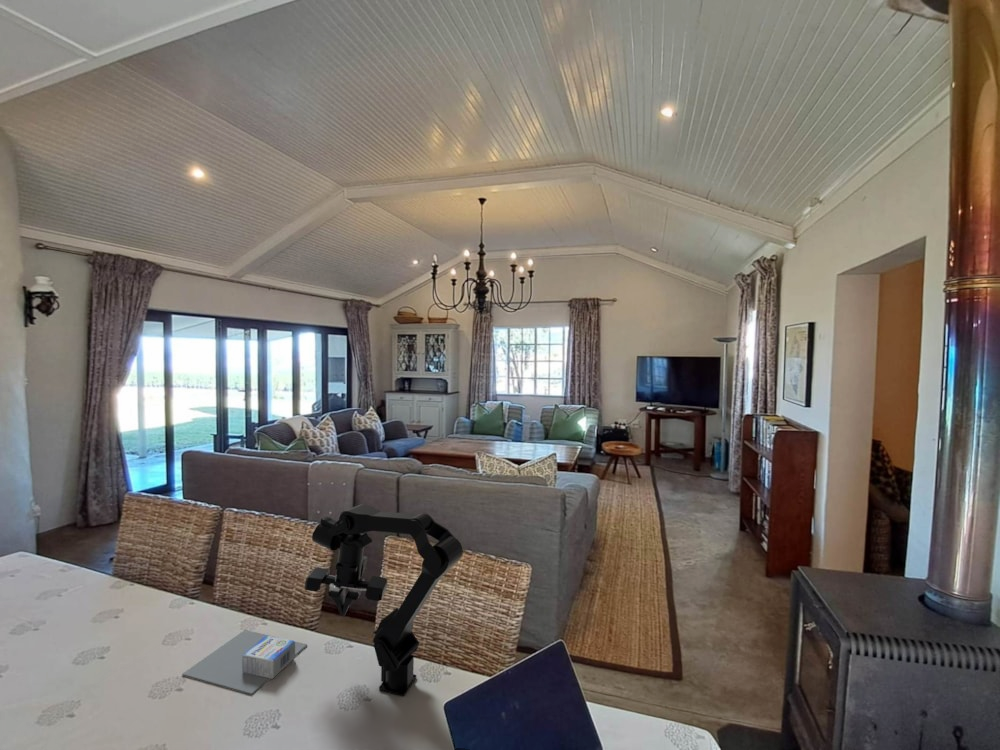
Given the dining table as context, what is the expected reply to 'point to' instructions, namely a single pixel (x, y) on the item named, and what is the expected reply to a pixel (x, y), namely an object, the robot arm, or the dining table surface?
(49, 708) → the dining table surface
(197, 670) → the mat
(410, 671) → the robot arm
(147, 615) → the dining table surface
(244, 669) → the medicine box
